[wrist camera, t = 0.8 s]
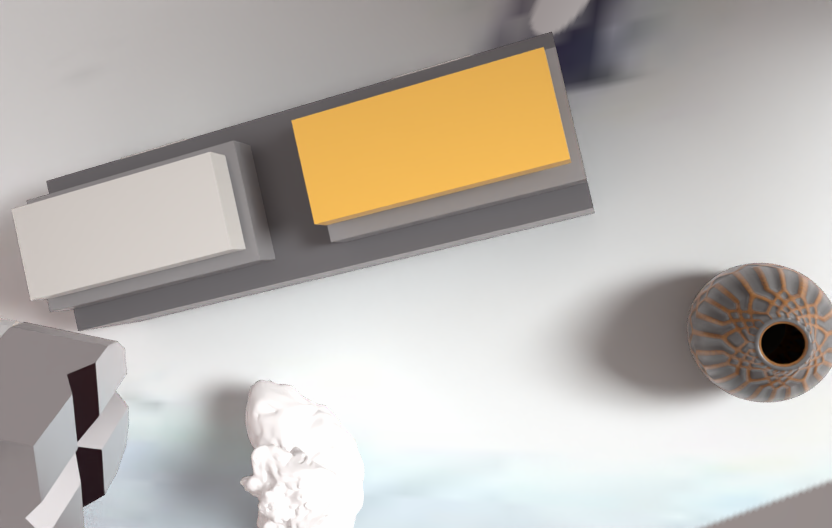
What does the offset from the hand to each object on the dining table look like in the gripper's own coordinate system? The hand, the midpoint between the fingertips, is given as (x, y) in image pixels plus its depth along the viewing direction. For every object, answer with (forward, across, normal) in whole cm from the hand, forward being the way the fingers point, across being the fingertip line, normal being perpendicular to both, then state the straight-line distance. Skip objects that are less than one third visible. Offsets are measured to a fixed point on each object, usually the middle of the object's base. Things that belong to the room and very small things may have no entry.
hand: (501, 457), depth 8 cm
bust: (+29, +5, +30) cm, 42 cm away
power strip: (+37, +7, +16) cm, 41 cm away
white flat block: (+29, +16, +16) cm, 37 cm away
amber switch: (+28, +2, +8) cm, 29 cm away
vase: (+31, -17, +16) cm, 39 cm away
